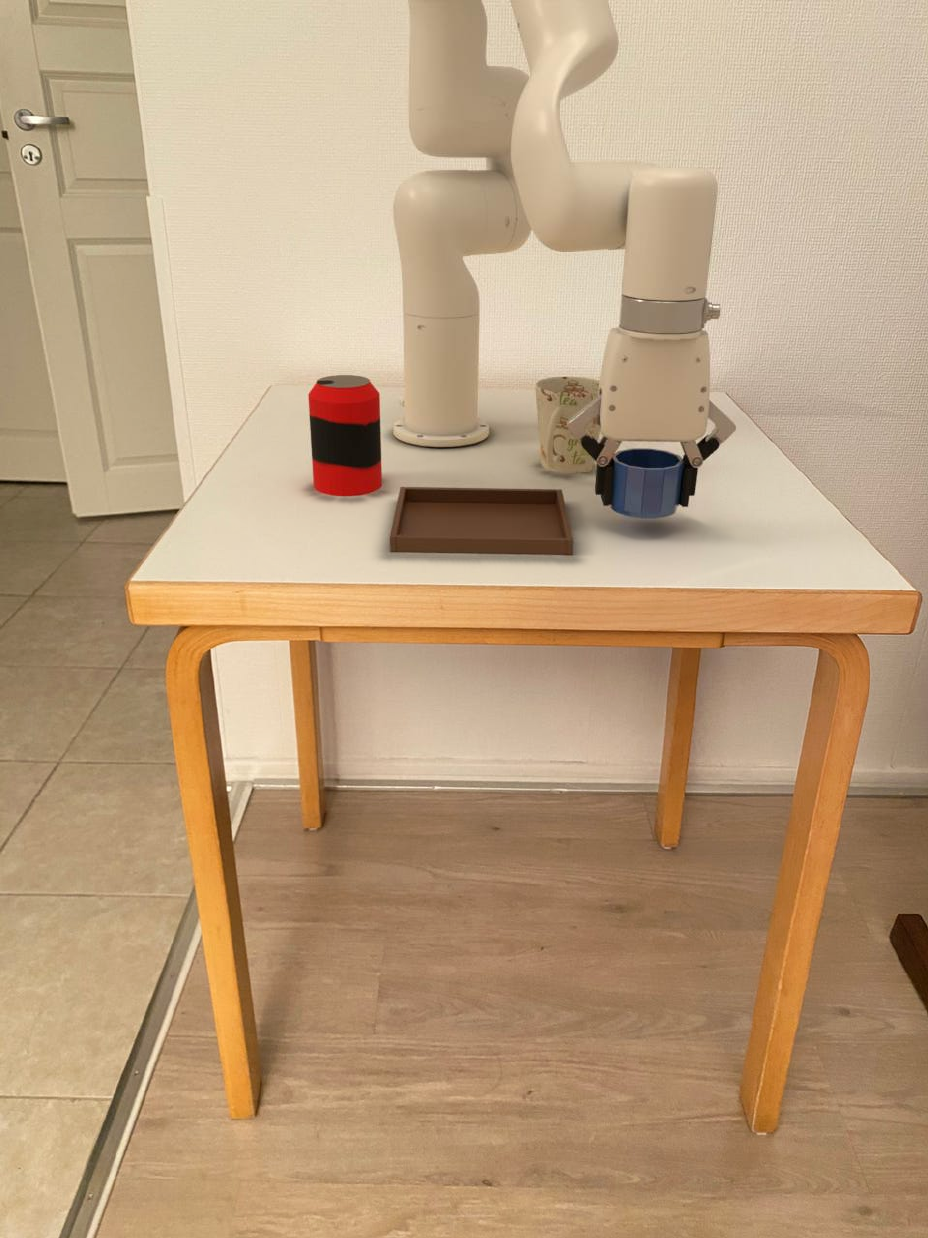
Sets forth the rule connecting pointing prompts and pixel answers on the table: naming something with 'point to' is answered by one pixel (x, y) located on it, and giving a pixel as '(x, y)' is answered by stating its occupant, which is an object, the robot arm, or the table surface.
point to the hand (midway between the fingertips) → (643, 500)
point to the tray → (481, 521)
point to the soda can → (345, 435)
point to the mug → (564, 422)
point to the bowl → (646, 482)
